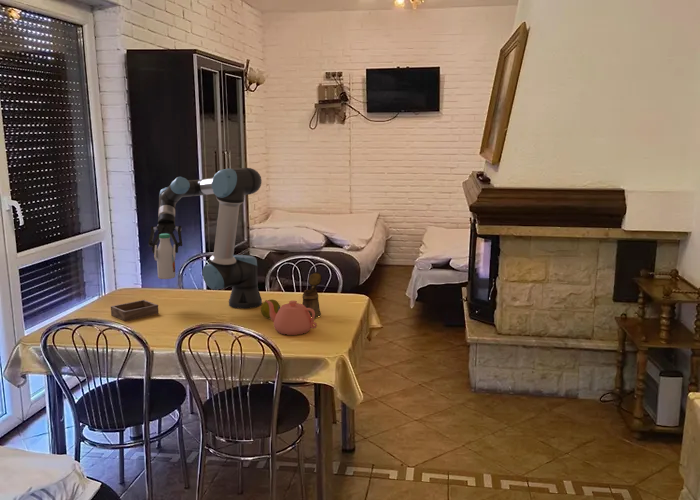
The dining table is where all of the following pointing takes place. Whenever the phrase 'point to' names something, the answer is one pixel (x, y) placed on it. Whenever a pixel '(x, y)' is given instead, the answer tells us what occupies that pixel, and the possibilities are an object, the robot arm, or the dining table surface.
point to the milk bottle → (165, 258)
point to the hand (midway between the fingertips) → (164, 258)
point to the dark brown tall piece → (312, 294)
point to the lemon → (265, 308)
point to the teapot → (292, 318)
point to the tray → (134, 310)
